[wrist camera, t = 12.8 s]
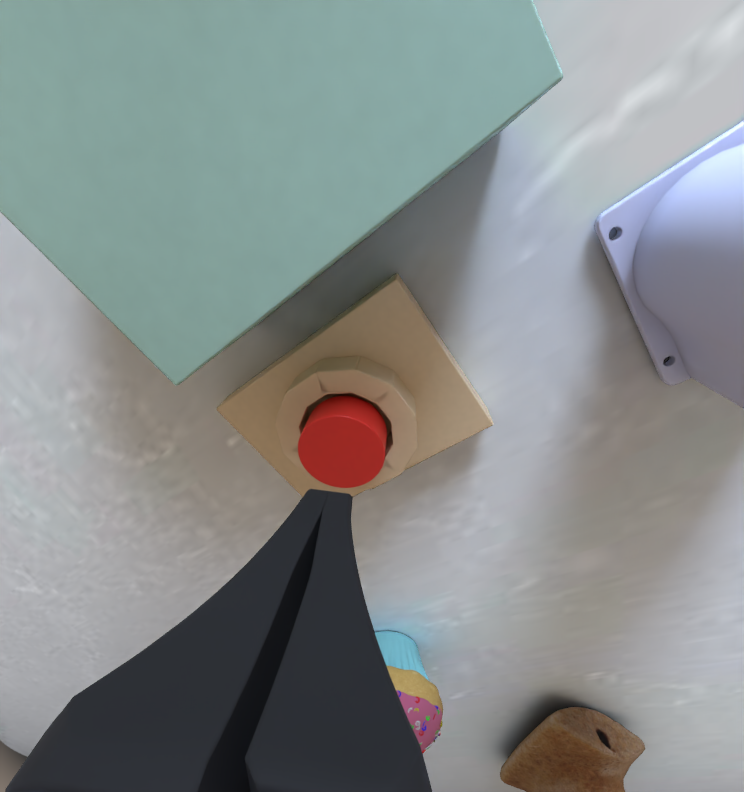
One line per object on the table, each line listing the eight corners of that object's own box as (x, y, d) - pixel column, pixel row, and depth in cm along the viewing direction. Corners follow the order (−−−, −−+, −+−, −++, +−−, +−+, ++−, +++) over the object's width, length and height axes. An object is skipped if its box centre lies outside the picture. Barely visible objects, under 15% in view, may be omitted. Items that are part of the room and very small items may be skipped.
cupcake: (445, 672, 33) (463, 897, 22) (353, 675, 34) (328, 887, 23) (429, 611, 29) (442, 845, 18) (327, 618, 31) (284, 837, 20)
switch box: (488, 409, 21) (502, 444, 17) (324, 495, 24) (312, 537, 21) (397, 272, 18) (394, 285, 15) (228, 395, 22) (198, 426, 18)
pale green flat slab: (189, 376, 15) (175, 387, 14) (-106, 75, 11) (-151, 63, 10) (550, 89, 10) (565, 76, 9) (249, -619, 6) (223, -761, 5)
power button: (402, 441, 18) (402, 465, 17) (340, 475, 20) (334, 500, 18) (354, 380, 17) (348, 399, 15) (291, 421, 18) (279, 443, 17)
